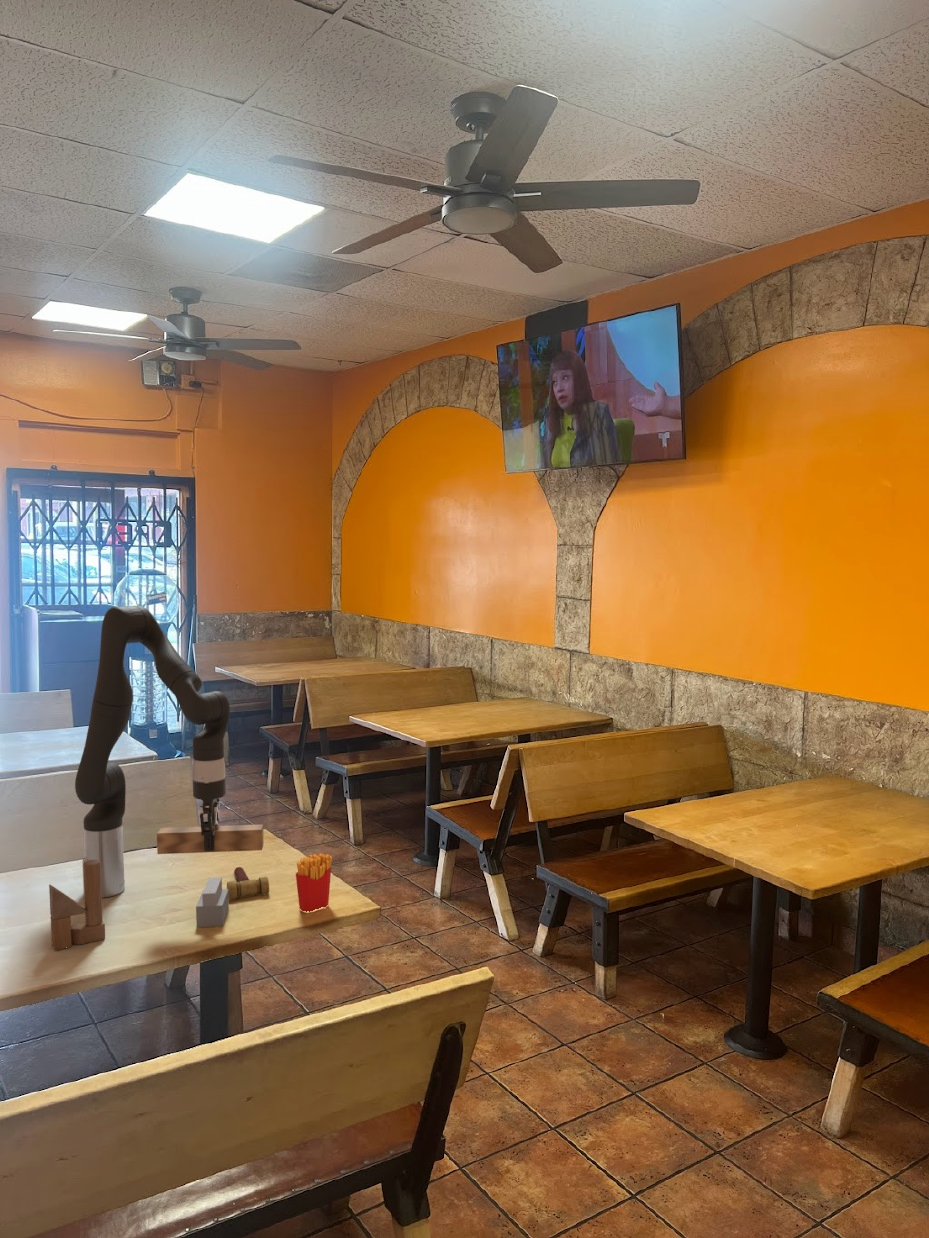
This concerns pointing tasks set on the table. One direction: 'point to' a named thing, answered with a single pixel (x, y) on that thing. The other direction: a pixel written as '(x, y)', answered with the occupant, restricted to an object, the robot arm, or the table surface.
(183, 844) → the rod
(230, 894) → the gavel
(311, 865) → the french fries
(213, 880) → the steps
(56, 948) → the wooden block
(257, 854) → the table surface
